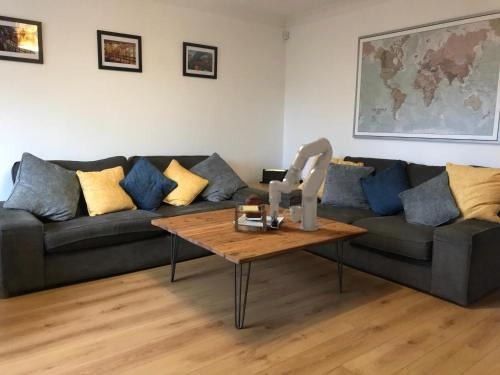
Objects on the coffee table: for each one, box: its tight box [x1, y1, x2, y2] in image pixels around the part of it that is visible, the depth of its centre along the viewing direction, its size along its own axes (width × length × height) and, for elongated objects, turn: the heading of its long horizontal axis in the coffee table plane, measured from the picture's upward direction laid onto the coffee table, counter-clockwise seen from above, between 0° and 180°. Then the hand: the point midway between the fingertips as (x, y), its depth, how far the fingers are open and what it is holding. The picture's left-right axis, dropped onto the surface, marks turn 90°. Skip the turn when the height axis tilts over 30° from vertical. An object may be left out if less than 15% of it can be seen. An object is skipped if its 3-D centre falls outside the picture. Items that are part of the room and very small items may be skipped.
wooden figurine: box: [244, 194, 262, 219], centre depth 294 cm, size 12×6×18 cm, turn 81°
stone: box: [270, 218, 280, 230], centre depth 275 cm, size 5×5×5 cm
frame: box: [234, 204, 268, 233], centre depth 273 cm, size 20×20×14 cm
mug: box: [283, 205, 302, 223], centre depth 292 cm, size 8×13×10 cm, turn 89°
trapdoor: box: [239, 204, 259, 211], centre depth 272 cm, size 12×14×2 cm
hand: (274, 225), depth 275 cm, fingers open, 9 cm apart
